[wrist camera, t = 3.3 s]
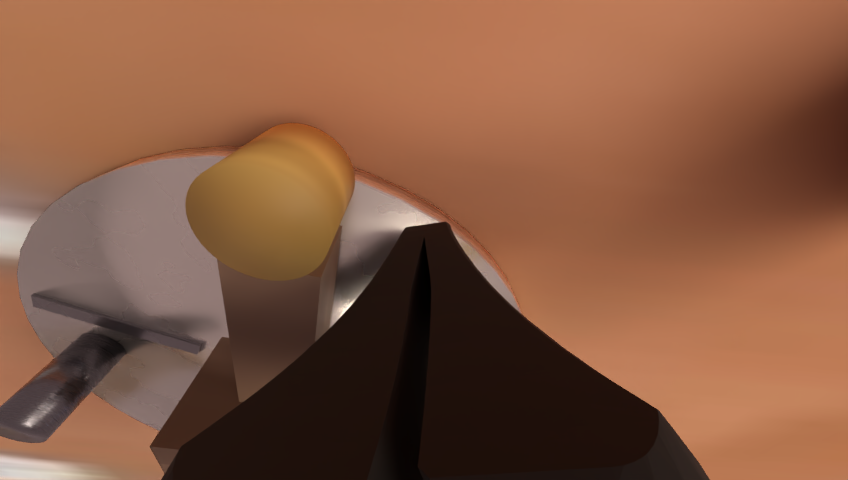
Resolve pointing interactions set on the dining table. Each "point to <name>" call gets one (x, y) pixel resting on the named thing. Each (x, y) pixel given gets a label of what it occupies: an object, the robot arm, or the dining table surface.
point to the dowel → (59, 388)
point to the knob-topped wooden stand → (264, 265)
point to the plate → (180, 271)
